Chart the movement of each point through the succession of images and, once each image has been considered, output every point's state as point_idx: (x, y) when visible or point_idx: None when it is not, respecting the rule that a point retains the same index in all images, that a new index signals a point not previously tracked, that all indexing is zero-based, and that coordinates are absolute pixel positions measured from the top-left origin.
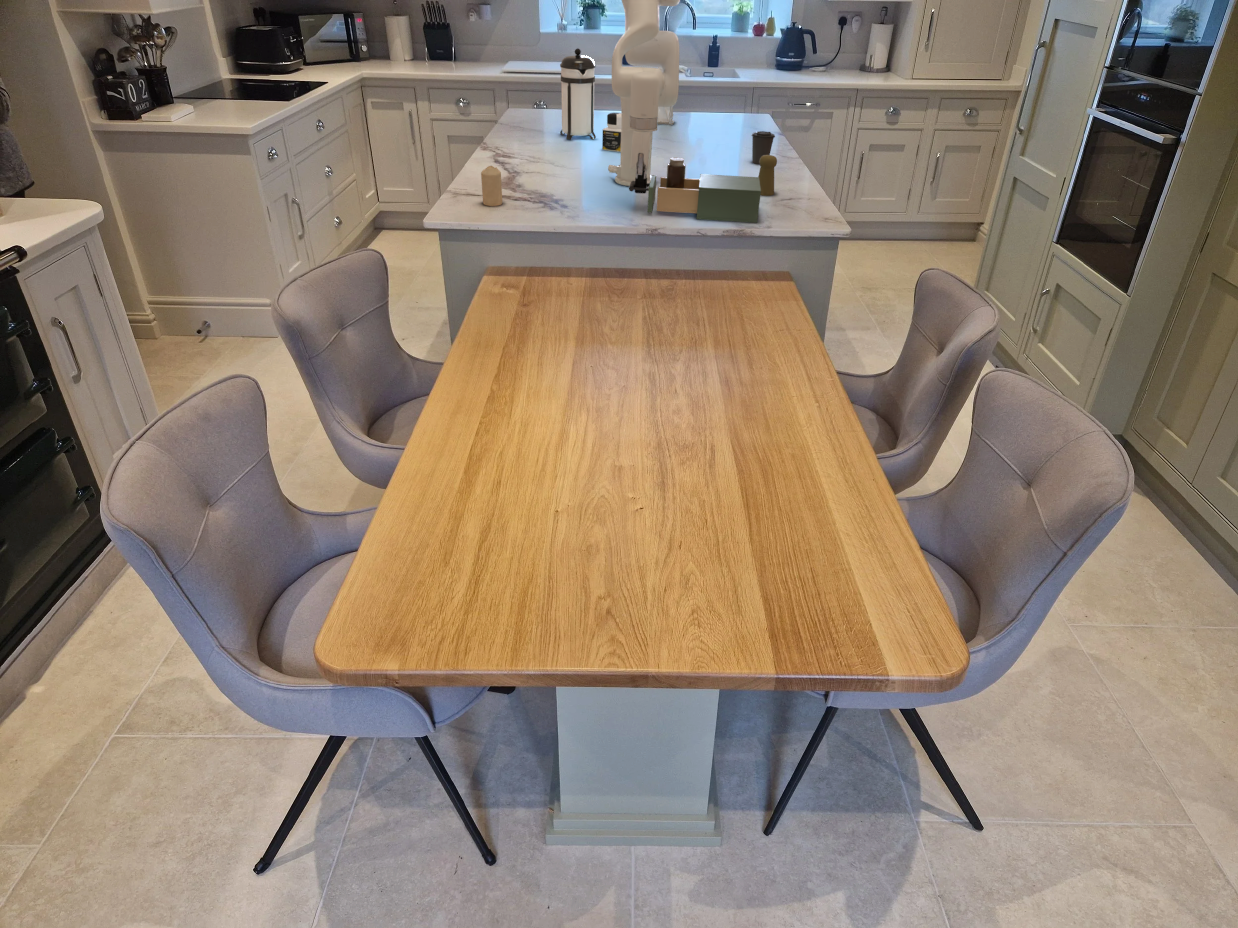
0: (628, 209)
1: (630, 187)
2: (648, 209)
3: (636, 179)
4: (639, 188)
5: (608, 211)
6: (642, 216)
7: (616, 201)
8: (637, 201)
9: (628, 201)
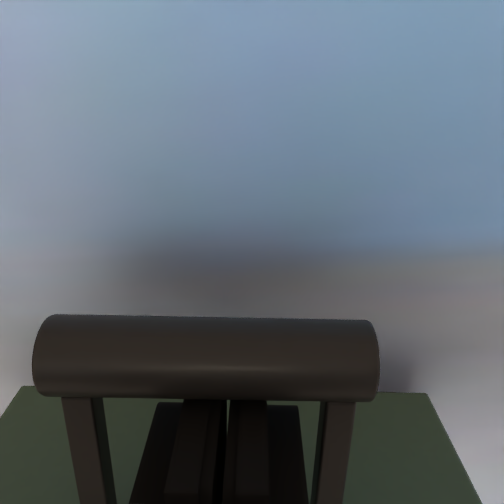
0: (174, 212)
1: (36, 356)
2: (9, 409)
3: (168, 495)
4: (71, 454)
5: (43, 9)
6: (5, 335)
7: (445, 66)
8: (449, 272)
9: (447, 192)
